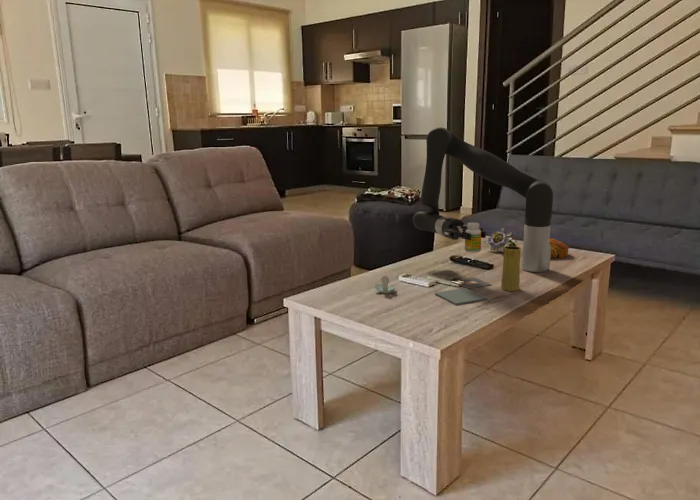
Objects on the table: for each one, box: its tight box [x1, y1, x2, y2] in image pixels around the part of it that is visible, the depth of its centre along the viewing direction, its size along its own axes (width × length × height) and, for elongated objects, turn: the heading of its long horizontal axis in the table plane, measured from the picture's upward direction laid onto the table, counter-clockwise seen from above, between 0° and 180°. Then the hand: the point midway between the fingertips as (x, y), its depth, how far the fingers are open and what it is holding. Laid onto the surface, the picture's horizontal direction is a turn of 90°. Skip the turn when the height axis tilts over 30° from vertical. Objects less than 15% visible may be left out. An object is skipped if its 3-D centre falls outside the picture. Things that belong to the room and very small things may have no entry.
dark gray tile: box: [459, 276, 492, 290], centre depth 191 cm, size 10×10×1 cm
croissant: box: [549, 238, 570, 259], centre depth 227 cm, size 14×16×8 cm
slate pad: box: [434, 287, 488, 306], centre depth 176 cm, size 12×12×1 cm
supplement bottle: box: [464, 222, 482, 254], centre depth 187 cm, size 5×5×10 cm
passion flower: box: [484, 227, 518, 253], centre depth 236 cm, size 11×11×12 cm
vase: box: [500, 245, 521, 292], centre depth 183 cm, size 6×6×14 cm
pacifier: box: [374, 274, 398, 294], centre depth 183 cm, size 7×6×6 cm
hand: (477, 236), depth 185 cm, fingers closed on supplement bottle, 5 cm apart
